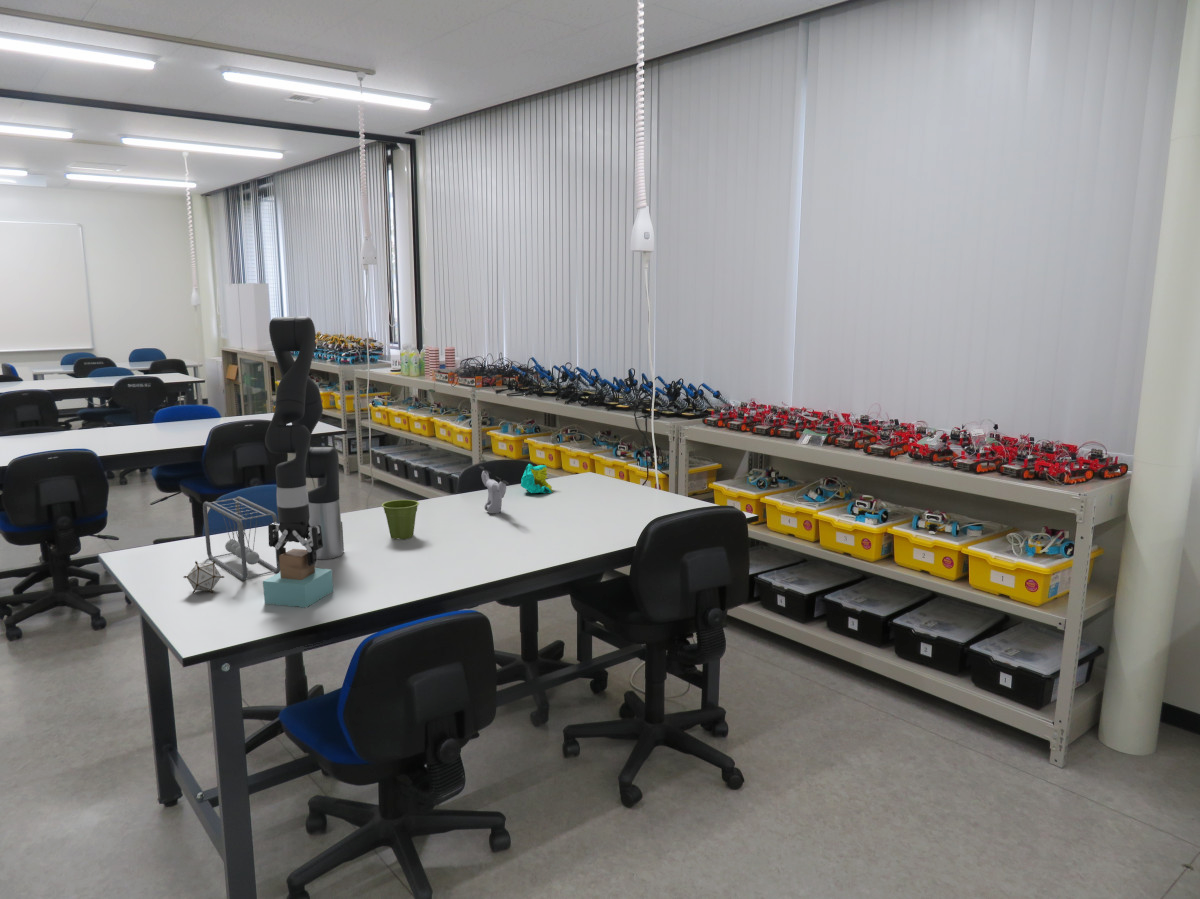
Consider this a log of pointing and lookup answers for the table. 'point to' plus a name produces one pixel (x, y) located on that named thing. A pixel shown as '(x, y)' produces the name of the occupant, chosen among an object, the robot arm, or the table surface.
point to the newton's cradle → (239, 536)
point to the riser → (298, 589)
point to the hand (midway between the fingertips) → (297, 563)
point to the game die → (204, 576)
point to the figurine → (493, 492)
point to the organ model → (536, 479)
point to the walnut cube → (295, 565)
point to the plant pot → (401, 517)
